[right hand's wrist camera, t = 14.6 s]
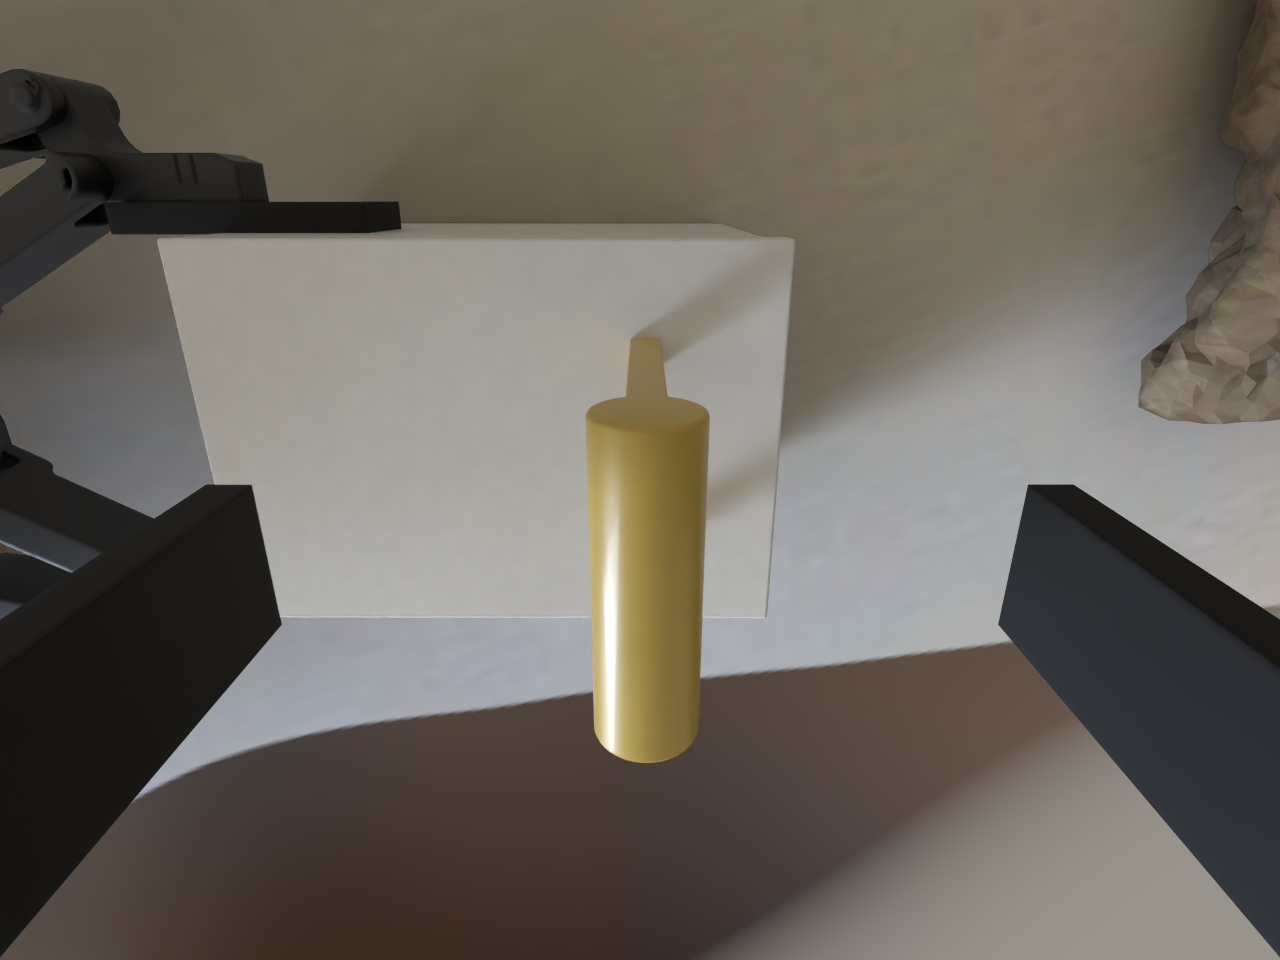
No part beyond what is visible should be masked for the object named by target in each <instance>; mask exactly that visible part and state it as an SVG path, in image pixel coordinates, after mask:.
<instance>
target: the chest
mask: <svg viewBox="0 0 1280 960" xmlns="http://www.w3.org/2000/svg"><path fill="white" fill-rule="evenodd" d="M401 228H402V229H397V230H389V231H381V232H373V233H216V234H204V235H192V236H183V237H761V236H758V235H755V234H751V233H748V232H745V231H742V230H739V229H736V228H733V227H729V226H726V225H723V224H719V223H401Z"/></svg>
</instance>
